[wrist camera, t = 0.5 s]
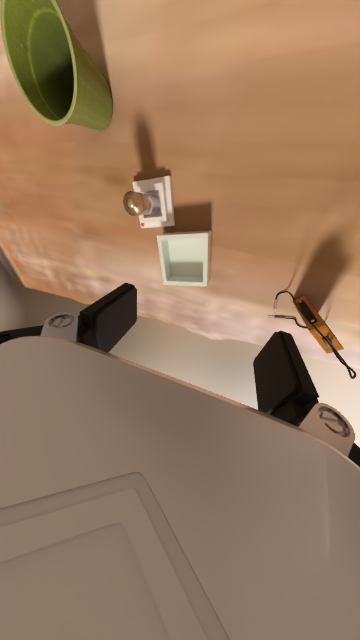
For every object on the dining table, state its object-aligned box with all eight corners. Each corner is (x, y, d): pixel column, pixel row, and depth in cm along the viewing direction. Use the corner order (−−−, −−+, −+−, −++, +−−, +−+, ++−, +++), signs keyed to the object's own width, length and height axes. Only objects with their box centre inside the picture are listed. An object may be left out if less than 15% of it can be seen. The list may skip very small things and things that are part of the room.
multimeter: (256, 305, 43) (266, 358, 28) (295, 282, 37) (334, 335, 22) (285, 338, 47) (308, 403, 31) (325, 323, 41) (378, 394, 25)
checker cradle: (134, 182, 36) (128, 181, 34) (171, 176, 33) (166, 174, 31) (143, 227, 41) (138, 228, 39) (175, 225, 38) (171, 226, 36)
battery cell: (145, 195, 36) (119, 192, 28) (159, 193, 35) (136, 189, 27) (148, 214, 38) (124, 216, 30) (162, 213, 37) (141, 215, 29)
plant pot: (121, 47, 26) (61, -35, 17) (125, 150, 33) (84, 130, 24) (62, 42, 27) (-21, -36, 19) (78, 141, 35) (24, 119, 26)
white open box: (164, 232, 40) (156, 235, 36) (211, 230, 36) (208, 232, 33) (170, 278, 47) (163, 284, 43) (209, 279, 43) (206, 286, 39)
